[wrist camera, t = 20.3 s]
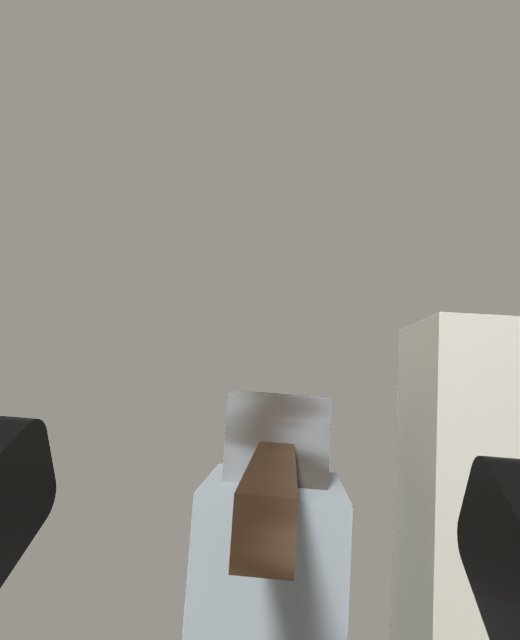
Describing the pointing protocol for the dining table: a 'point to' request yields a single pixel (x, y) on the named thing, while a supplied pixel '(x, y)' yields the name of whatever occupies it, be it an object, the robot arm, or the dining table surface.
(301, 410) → the mallet
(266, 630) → the short pedestal
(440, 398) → the tall pedestal
